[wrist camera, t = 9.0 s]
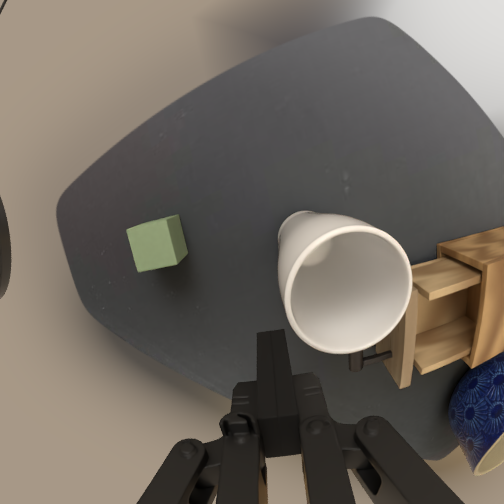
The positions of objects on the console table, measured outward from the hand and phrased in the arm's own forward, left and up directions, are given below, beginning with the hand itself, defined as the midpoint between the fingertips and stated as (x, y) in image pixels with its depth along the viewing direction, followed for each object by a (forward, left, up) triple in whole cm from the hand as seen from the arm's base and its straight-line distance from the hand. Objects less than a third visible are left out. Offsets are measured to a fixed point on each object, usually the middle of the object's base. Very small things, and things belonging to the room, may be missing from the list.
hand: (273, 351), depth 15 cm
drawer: (+6, +15, -12) cm, 21 cm away
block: (-6, -9, -13) cm, 17 cm away
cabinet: (+6, +27, -13) cm, 31 cm away
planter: (+26, +31, -13) cm, 43 cm away
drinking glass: (-3, +4, -13) cm, 14 cm away
